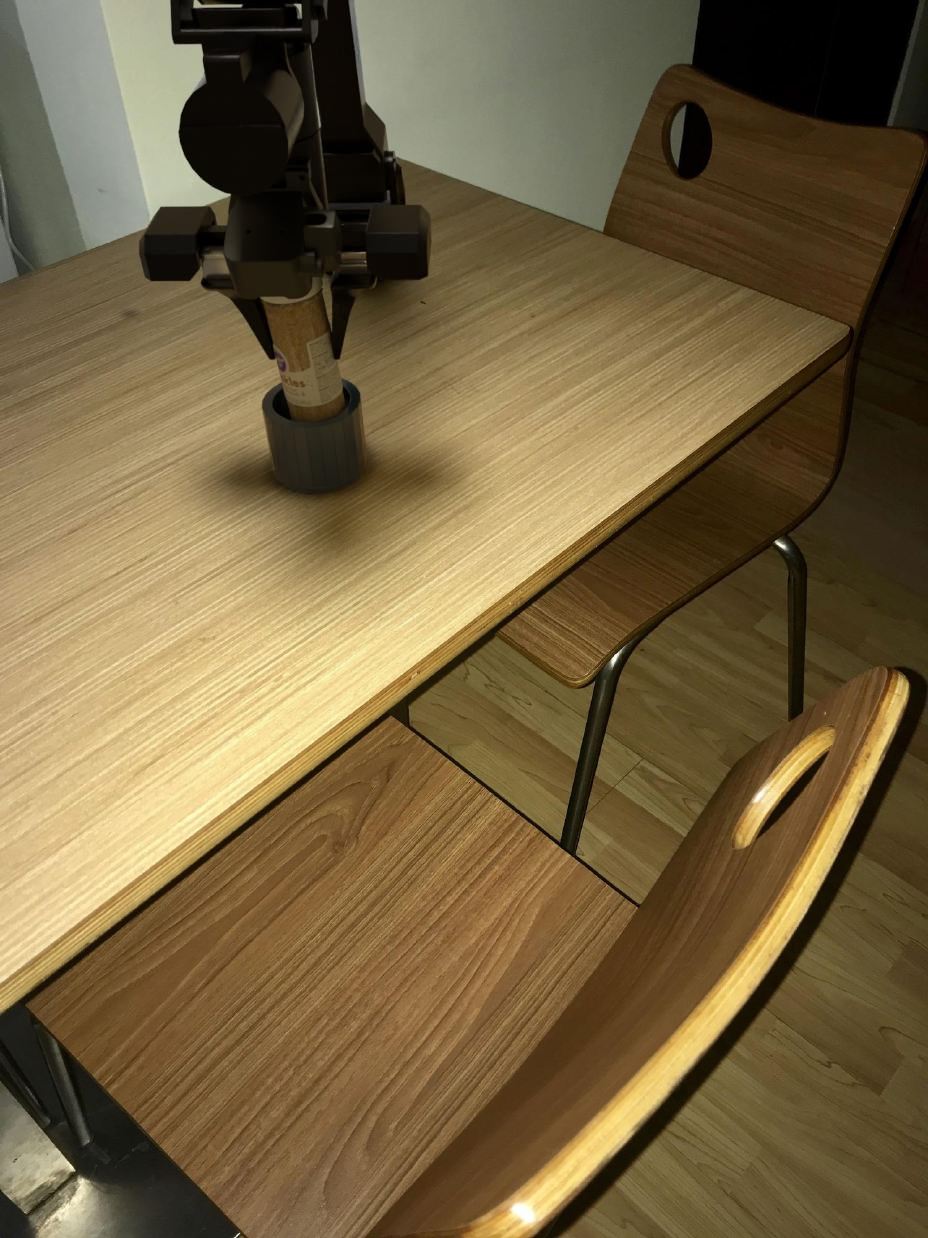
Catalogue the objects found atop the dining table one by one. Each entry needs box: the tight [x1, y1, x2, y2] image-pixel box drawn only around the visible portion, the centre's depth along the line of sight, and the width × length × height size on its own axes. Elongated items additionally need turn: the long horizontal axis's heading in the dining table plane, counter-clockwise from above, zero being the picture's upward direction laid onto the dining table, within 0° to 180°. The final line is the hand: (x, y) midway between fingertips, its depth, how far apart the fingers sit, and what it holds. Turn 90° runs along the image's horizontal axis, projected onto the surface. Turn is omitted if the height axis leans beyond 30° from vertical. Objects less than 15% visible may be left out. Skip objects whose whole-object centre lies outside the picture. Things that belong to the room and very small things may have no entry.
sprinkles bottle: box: [260, 277, 346, 422], centre depth 72 cm, size 5×5×14 cm
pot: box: [261, 377, 368, 495], centre depth 76 cm, size 7×7×6 cm
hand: (305, 356), depth 72 cm, fingers closed on sprinkles bottle, 4 cm apart
